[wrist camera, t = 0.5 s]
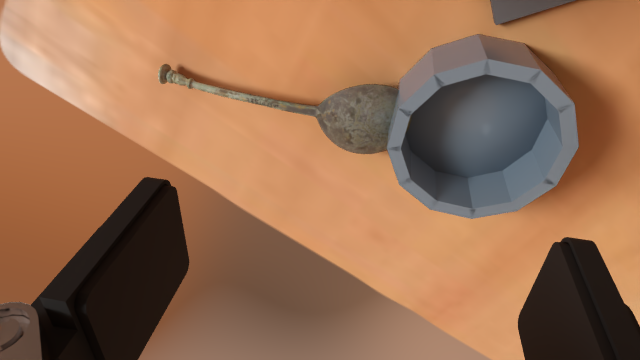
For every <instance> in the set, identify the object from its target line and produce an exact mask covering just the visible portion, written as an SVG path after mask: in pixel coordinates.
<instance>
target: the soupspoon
mask: <svg viewBox="0 0 640 360" xmlns="http://www.w3.org/2000/svg"><path fill="white" fill-rule="evenodd" d="M158 73H159V74H158V77H159V82H160V83H161V84H165V83H167V82H169V83H175V84H179V85H184V86H185V85H187V87H188V88H189V89H192V88H195V89H198V90H202V91H205V92H209V93H212V94H216V95H219V96H223V97H228V98H232V99H236V100H240V101H245V102H249V103H254V104H258V105H263V106H267V107H271V108H275V109H279V110H283V111H288V112H293V113H298V114H304V115H309V116H314V117H316V118H317V120H318V122H319V124H320V127H321V129H322V130H323V132H324V133H325V135H326V136H327V137H328V138H329V139H330V140H331V141H332V142H333V143H335V144H336V145H337V146H338V147H340V148H342V149H344V150H346V151H349V152H353V153H358V154H373V153H379V152H382V151H384V150H387V143H388V132H389V128H390V124H391V121H392V117H393V113H394V109H395V105H396V100H397V96H398V91H399V90H398V89H396V88H394V87H390V86H385V85H378V84H366V85H359V86H354V87H350V88H347V89H344V90H341V91H339V92H337V93H335V94H333V95H331V96H330V97H328V98H326V99H325V100H324V101H323V102H322V103H321V104H320V105H319V106H312V105H305V104H298V103H292V102H286V101H280V100H275V99H270V98H266V97H261V96H256V95H251V94H246V93H242V92H237V91H232V90H228V89H224V88H220V87H216V86H212V85H207V84H203V83H199V82H196V81H195V80H194V79H193V78H190V79H187V78H186V77H185V76H184V75H182V74H179V73H176V71H174V70H172V69H171V67H170V65H168V64H164V65H162V66H161V68H160V70H159V72H158ZM411 118H412V114H411V116H410V119H409V122H408V126H407V129H406V132H407V131H408V129H409V126H410V123H411ZM406 132H405V134H406Z"/></svg>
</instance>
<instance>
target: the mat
mask: <svg viewBox="0 0 640 360" xmlns="http://www.w3.org/2000/svg"><path fill="white" fill-rule="evenodd" d="M490 1H491V7H492V12H493V18H494V23H495V24H496V25H498V24H501V23H504V22H508V21H511V20H514V19H517V18H520V17H524V16H527V15H530V14H533V13H537V12H540V11H543V10H546V9H549V8H553V7H556V6H559V5H562V4H565V3H569V2H572V1H575V0H490Z"/></svg>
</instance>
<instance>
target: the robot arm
mask: <svg viewBox="0 0 640 360" xmlns="http://www.w3.org/2000/svg"><path fill="white" fill-rule="evenodd" d="M188 266H189V257H188V251H187V245H186V240H185V234H184V229H183V223H182V217H181V212H180V206H179V200H178V195H177V190H176V188H175V187H173V186H171V184H170V182H169V181H168V180H164V179H156V178H150V177H146V178H144V179H143V180H141V182H140V183H139V184H138V185H137V186H136V187H135V188H134V189H133V191H132V192H131V193H130V194H129V195H128V197H126V199H125V200H124V201H123V202H122V203H121V204H120V205H119V206H118V208H117V209H116V210H115V211H114V212H113V213H112V215H111V216H110V217H109V218H108V219H107V220H106V221H105V222H104V223H103V225H102V226H101V227H100V228H98V230H97V231H96V232H95V233H94V234H93V235H92V236H91V237H90V239H89V240H88V241H87V242H86V243H85V244H84V246H83V247H82V248H81V249H80V250H79V251H78V252H77V253H76V255H75V256H74V257H73V258H72V259H71V260H70V261H69V262H68V264H67V265H66V266H65V267H64V268H63V269H62V270H61V271H60V273H59V274H58V275H57V276H56V277H55V278H54V279H53V281H52V282H51V283H50V284H49V285H48V286H47V287H46V289H45V290H44V291H43V292H42V293H41V294H40V295H39V297H38V298H37V299H36V300H35V301H34V302H33V303H32V304H31V305H29V304H25V303H22V302H9V303H4V304H0V360H138V358H139V356H140V355H141V353H142V351H143V349H144V348H145V346H146V344H147V342H148V341H149V339H150V337H151V335H152V333H153V332H154V330H155V328H156V326H157V325H158V323H159V321H160V319H161V317H162V316H163V314H164V312H165V310H166V309H167V307H168V305H169V303H170V302H171V300H172V298H173V296H174V295H175V292H176V291H177V289H178V287H179V285H180V284H181V282H182V280H183V279H184V277H185V275H186V273H187V271H188ZM518 330H519V335H520V339H521V343H522V348H523V352H524V357H525V360H640V326H639V324H638V322H637V320H636V318H635V316H634V314H633V312H632V311H631V309H630V308H629V307H628V306H627V305H626V304H624V302H623V300H622V298H621V296H620V294H619V291H618V289H617V287H616V285H615V283H614V281H613V279H612V277H611V275H610V273H609V271H608V269H607V267H606V265H605V263H604V260H603V258H602V256H601V254H600V252H599V250H598V248H597V246H596V244H595V243H594V242H593V241H589V240H582V239H576V238H569V237H566V238H564V239H562V241H561V242H555V243H554V244H553V245H552V247H551V249H550V251H549V253H548V255H547V257H546V259H545V262H544V264H543V266H542V268H541V270H540V272H539V274H538V276H537V278H536V281H535V283H534V285H533V287H532V289H531V291H530V293H529V295H528V297H527V300H526V302H525V304H524V306H523V308H522V310H521V312H520V315H519V318H518Z"/></svg>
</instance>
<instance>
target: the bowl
mask: <svg viewBox="0 0 640 360" xmlns="http://www.w3.org/2000/svg"><path fill="white" fill-rule="evenodd" d="M398 90H399V91H398V96H397V100H396V105H395V109H394V113H393V117H392V121H391V124H390V128H389V132H388V143H387V150H388V153H389V156H390V159H391V162H392V165H393V168H394V171H395V174H396V176H397V179H398V182H399V185H400V186H402V187H403V188H404V189H405V190H407V191H408V192H409V193H410V194H411V195H413V196H414V197H415V198H416V199H418V200H419V201H420V202H421V203H423V204H424V205H425V206H426V207H428V208H429V209H430V210H435V211H439V212H444V213H448V214H453V215H457V216H462V217H466V218H471V219H474V218H479V217H485V216H491V215H497V214H502V213H508V212H514V211H518V210H519V209H521V208H522V207H524V206H526V205H527V204H529V203H530V202H532V201H533V200H535V199H536V198H538V197H540V196H541V195H543V194H544V193H546V192H547V191H549V190H551V189H552V188H554V187H555V186H556V185H557V184H558V182H559V180H560V179H561V177H562V175H563V173H564V172H565V170H566V168H567V166H568V165H569V163H570V161H571V160H572V158H573V156H574V154H575V153H576V151H577V149H578V147H579V144H578V134H577V123H576V113H575V103H574V102H573V100H572V99H571V98H570V96H569V95H568V93H567V92H566V90H565V89H564V87H563V86H562V85H561V83H560V82H559V80H558V79H557V77H556V76H555V74H554V73H553V72H552V71H551V70H550V69H549V68H548V67H547V66H546V65H545V64H544V63H543V62H542V61H541V60H540V59H539V58H538V57H537V56H536V55H535V54H534V53H533V52H532V51H531V50H530V49H529V48H528V47H527V46H526V45H525V44H524V43H520V42H515V41H510V40H505V39H500V38H495V37H490V36H485V35H480V34H477V35H473V36H470V37H467V38H464V39H460V40H457V41H454V42H451V43H447V44H444V45H441V46H438V47H435V48H432V49H431V50H430V51H429V52H428V53H427V54H426V55H425V56H424V57H423V58H421V59H420V60H419V61H418V62H417V63H416V64H415V65H414V66H413V67H412V68H411V69H410V70H409V71H408V72H407V73H406V74H405V75H404V76H403V77H402V78H401V79H400V82H399V86H398ZM411 114H412V118H411V123H410V126H409V129H408V131H407V132H406V129H407V126H408V122H409V119H410V116H411ZM405 132H406V134H405Z"/></svg>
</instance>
